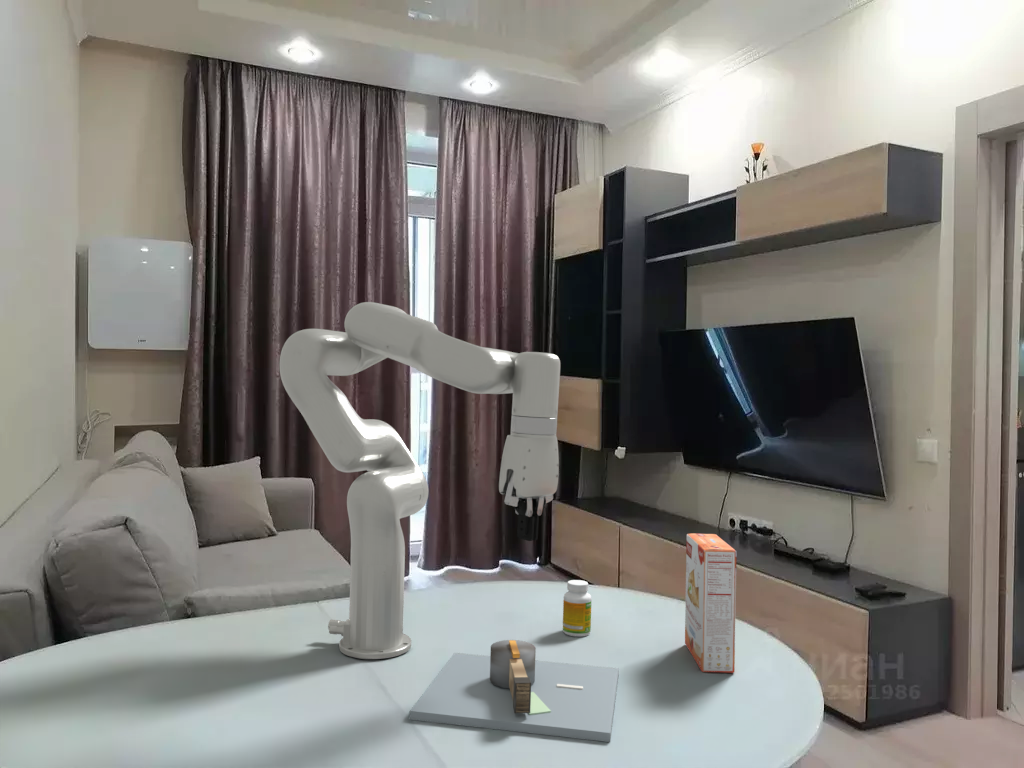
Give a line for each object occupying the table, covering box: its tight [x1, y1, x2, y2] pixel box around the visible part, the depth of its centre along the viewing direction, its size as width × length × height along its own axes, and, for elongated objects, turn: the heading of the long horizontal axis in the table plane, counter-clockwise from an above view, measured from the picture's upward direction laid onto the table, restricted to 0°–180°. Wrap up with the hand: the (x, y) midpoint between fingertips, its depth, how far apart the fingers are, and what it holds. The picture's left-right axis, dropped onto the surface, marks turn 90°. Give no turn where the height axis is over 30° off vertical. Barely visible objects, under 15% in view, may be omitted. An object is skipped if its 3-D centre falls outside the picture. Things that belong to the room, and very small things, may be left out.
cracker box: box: [684, 532, 738, 674], centre depth 134 cm, size 14×6×21 cm, turn 179°
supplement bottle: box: [562, 579, 592, 638], centre depth 146 cm, size 5×5×10 cm
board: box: [409, 652, 620, 743], centre depth 115 cm, size 28×24×1 cm
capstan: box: [489, 639, 537, 713], centre depth 113 cm, size 16×7×6 cm, turn 6°
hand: (527, 538), depth 124 cm, fingers closed
